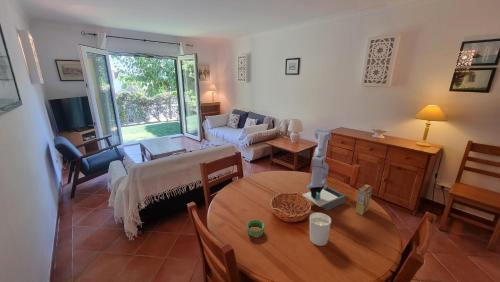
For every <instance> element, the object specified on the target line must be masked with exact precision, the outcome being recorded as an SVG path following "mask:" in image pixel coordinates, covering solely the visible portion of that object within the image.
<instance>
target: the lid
mask: <svg viewBox="0 0 500 282" xmlns="http://www.w3.org/2000/svg"><path fill="white" fill-rule="evenodd" d="M301 196H302V197H303V198H305V199H307V200H308V201H310V202H311V203H313V204H315V205H316V206H318V207H320V206H322V205H325V204H327V203H329V202H331V201H334V200H336V199H338V197H337V196H335V195H333V194H331V193H329V192H327V191H325V190H324V189H322V191H321V193H318V192H317V193H316V198H315V199H314V198H313V197H312V194H311V191H310V190H309V191H308V192H306V193H303V194H302V195H301ZM320 208H321V207H320Z"/></svg>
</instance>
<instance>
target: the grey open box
mask: <svg viewBox="0 0 500 282" xmlns="http://www.w3.org/2000/svg"><path fill="white" fill-rule="evenodd" d="M323 189H324V190H325V191H327V192H329V193H331V194H333V195H335V196H337V197H338V199H336V200H334V201H331V202H329V203H327V204H325V205H322V206H320V208H321V209H324V210H325V211H328V212H329V211H330V210H332V209H335V208H337V207H338V206H340V205H343V204H345V202H346V195H345V194H344V193H341V192H339V191H337V190H336V189H333V188H332V187H330V186H327V187H325V188H323Z"/></svg>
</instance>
